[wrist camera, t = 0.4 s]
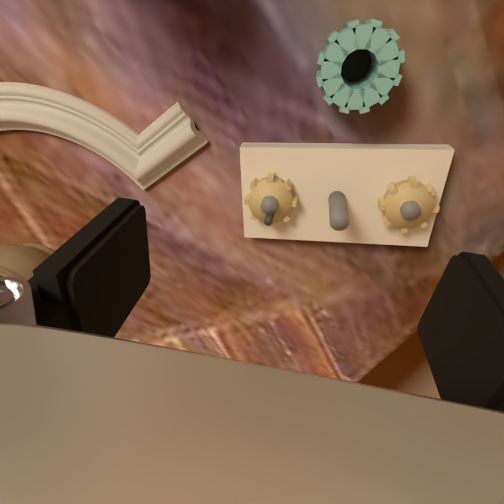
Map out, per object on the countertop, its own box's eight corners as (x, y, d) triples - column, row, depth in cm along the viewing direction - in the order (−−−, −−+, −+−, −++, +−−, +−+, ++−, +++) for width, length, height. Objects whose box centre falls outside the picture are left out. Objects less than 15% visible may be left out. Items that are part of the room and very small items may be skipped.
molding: (213, 106, 41) (206, 111, 38) (204, 199, 47) (198, 208, 45) (-125, 36, 42) (-151, 36, 40) (-87, 136, 49) (-108, 141, 47)
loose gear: (319, 21, 34) (319, 20, 30) (401, 17, 33) (413, 17, 29) (314, 104, 38) (314, 114, 34) (386, 103, 37) (395, 113, 33)
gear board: (242, 142, 42) (228, 164, 35) (448, 144, 38) (476, 169, 31) (247, 229, 48) (235, 262, 41) (423, 238, 45) (441, 275, 38)
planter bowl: (-23, 238, 57) (-86, 277, 48) (49, 212, 52) (-8, 251, 43) (40, 309, 65) (-5, 355, 56) (108, 293, 59) (71, 341, 50)
